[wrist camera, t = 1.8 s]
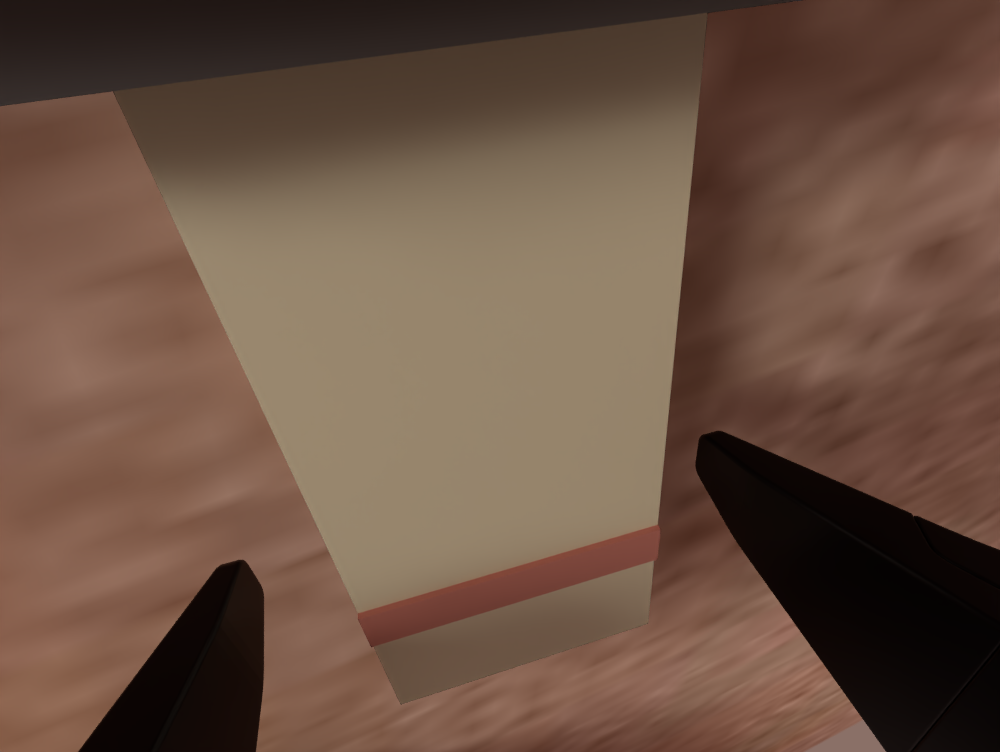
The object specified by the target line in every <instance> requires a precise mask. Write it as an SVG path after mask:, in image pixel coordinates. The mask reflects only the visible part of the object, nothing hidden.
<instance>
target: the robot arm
mask: <svg viewBox="0 0 1000 752" xmlns="http://www.w3.org/2000/svg"><path fill="white" fill-rule="evenodd" d="M696 471H697V474H698V476H699V478H700V479H701V481H702V483H703V485H704V487H705V488H706V490H707V492H708V494H709V495H710V497H711V499H712V501H713V502H714V504H715V506H716V508H717V509H718V511H719V513H720V515H721V517H722V518H723V520H724V522H725V524H726V525H727V527H728V529H729V530H730V532H731V534H732V535H733V537H734V539H735V540H736V542H737V543H738V545H739V546H740V547H741V549H742V550H743V552H744V553H745V555H746V556H747V557H748V559H749V560H750V562H751V563H752V564H753V566H754V567H755V569H756V570H757V571H758V573H759V574H760V576H761V577H762V578H763V580H764V581H765V583H766V584H767V585H768V587H769V588H770V590H771V591H772V592H773V594H774V595H775V597H776V598H777V599H778V601H779V602H780V604H781V605H782V606H783V608H784V609H785V611H786V612H787V613H788V615H789V616H790V618H791V619H792V620H793V622H794V623H795V625H796V626H797V627H798V629H799V630H800V632H801V633H802V634H803V636H804V637H805V639H806V640H807V641H808V643H809V644H810V646H811V647H812V648H813V650H814V651H815V653H816V654H817V655H818V657H819V658H820V660H821V661H822V662H823V664H824V665H825V667H826V668H827V669H828V671H829V672H830V674H831V675H832V676H833V678H834V679H835V681H836V682H837V683H838V685H839V686H840V688H841V689H842V690H843V692H844V693H845V695H846V696H847V697H848V699H849V700H850V702H851V703H852V704H853V706H854V707H855V709H856V710H857V711H858V713H859V714H860V716H861V717H862V719H863V720H864V721H865V723H866V724H867V726H868V727H869V728H870V730H871V731H872V732H873V734H874V735H875V737H876V738H877V740H878V741H879V742H880V744H881V745H882V746H883V748H884V749H885V751H886V752H1000V550H999V549H996V548H993V547H991V546H988V545H986V544H983V543H980V542H978V541H975V540H973V539H971V538H968V537H966V536H963V535H961V534H959V533H956V532H954V531H951V530H949V529H947V528H944V527H942V526H939V525H937V524H935V523H933V522H930V521H928V520H926V519H923V518H921V517H919V516H914V517H913V515H912V514H911V513H909V512H907V511H905V510H902V509H900V508H898V507H895V506H893V505H891V504H889V503H886V502H884V501H882V500H879V499H877V498H875V497H872V496H870V495H868V494H866V493H863V492H861V491H859V490H856V489H854V488H852V487H849V486H847V485H845V484H843V483H840V482H838V481H836V480H833V479H831V478H829V477H826V476H824V475H822V474H820V473H817V472H815V471H813V470H810V469H808V468H806V467H803V466H801V465H799V464H797V463H794V462H792V461H790V460H787V459H785V458H783V457H780V456H778V455H776V454H774V453H771V452H769V451H767V450H764V449H762V448H760V447H757V446H755V445H753V444H751V443H748V442H746V441H744V440H741V439H739V438H737V437H734V436H732V435H730V434H728V433H725V432H723V431H715V432H711V433H707V434H704V435H702V436H701V437H700V438H699V443H698V449H697V456H696ZM263 680H264V593H263V589H262V586H261V584H260V583H259V581H258V579H257V578H256V576H255V575H254V573H253V571H252V570H251V568H250V567H249V565H248V564H247V562H246V561H244V560H237V561H233V562H229V563H226V564H222V565H220V566H219V567H217V568H216V569H215V571H214V572H213V573H212V575H211V576H210V577H209V579H208V580H207V581H206V583H205V584H204V585H203V587H202V588H201V589H200V591H199V592H198V593H197V595H196V596H195V597H194V599H193V600H192V601H191V603H190V604H189V605H188V606H187V608H186V609H185V610H184V612H183V613H182V614H181V616H180V617H179V618H178V620H177V621H176V622H175V624H174V625H173V626H172V628H171V629H170V630H169V632H168V633H167V634H166V636H165V637H164V638H163V640H162V641H161V642H160V644H159V645H158V646H157V648H156V649H155V650H154V652H153V653H152V654H151V656H150V657H149V658H148V660H147V661H146V662H145V664H144V665H143V666H142V668H141V669H140V670H139V672H138V673H137V674H136V676H135V677H134V678H133V680H132V681H131V682H130V684H129V685H128V686H127V688H126V689H125V690H124V691H123V693H122V694H121V695H120V697H119V698H118V699H117V701H116V702H115V703H114V705H113V706H112V707H111V709H110V710H109V711H108V713H107V714H106V715H105V717H104V718H103V719H102V721H101V722H100V723H99V725H98V726H97V727H96V729H95V730H94V731H93V733H92V734H91V735H90V737H89V738H88V739H87V741H86V742H85V743H84V745H83V746H82V747H81V749H80V750H79V751H78V752H256V746H257V737H258V729H259V720H260V712H261V703H262V693H263Z"/></svg>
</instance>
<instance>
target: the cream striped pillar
mask: <svg viewBox="0 0 1000 752" xmlns="http://www.w3.org/2000/svg"><path fill="white" fill-rule="evenodd" d="M707 15H708V13H702V14H695V15H687V16H680V17H672V18H665V19H657V20H649V21H642V22H634V23H627V24H619V25H611V26H604V27H596V28H589V29H581V30H573V31H566V32H558V33H551V34H543V35H536V36H528V37H520V38H513V39H505V40H498V41H490V42H482V43H475V44H467V45H460V46H452V47H445V48H437V49H429V50H422V51H414V52H407V53H399V54H391V55H384V56H376V57H369V58H361V59H353V60H346V61H338V62H331V63H323V64H316V65H308V66H300V67H293V68H285V69H278V70H270V71H262V72H255V73H247V74H240V75H232V76H225V77H217V78H209V79H202V80H194V81H187V82H179V83H171V84H164V85H156V86H149V87H141V88H133V89H126V90H118V91H113V93H114V95H115V97H116V99H117V101H118V103H119V105H120V107H121V110H122V112H123V114H124V116H125V118H126V120H127V122H128V124H129V127H130V129H131V131H132V133H133V135H134V137H135V139H136V142H137V144H138V146H139V148H140V150H141V152H142V154H143V156H144V159H145V161H146V163H147V165H148V167H149V169H150V171H151V174H152V176H153V178H154V180H155V182H156V184H157V186H158V188H159V191H160V193H161V195H162V197H163V199H164V201H165V203H166V205H167V208H168V210H169V212H170V214H171V216H172V218H173V220H174V223H175V225H176V227H177V229H178V231H179V233H180V235H181V237H182V240H183V242H184V244H185V246H186V248H187V250H188V252H189V254H190V257H191V259H192V261H193V263H194V265H195V267H196V269H197V272H198V274H199V276H200V278H201V280H202V282H203V284H204V286H205V289H206V291H207V293H208V295H209V297H210V299H211V301H212V304H213V306H214V308H215V310H216V312H217V314H218V316H219V318H220V321H221V323H222V325H223V327H224V329H225V331H226V333H227V335H228V338H229V340H230V342H231V344H232V346H233V348H234V350H235V353H236V355H237V357H238V359H239V361H240V363H241V365H242V367H243V370H244V372H245V374H246V376H247V378H248V380H249V382H250V384H251V387H252V389H253V391H254V393H255V395H256V397H257V399H258V402H259V404H260V406H261V408H262V410H263V412H264V414H265V416H266V419H267V421H268V423H269V425H270V427H271V429H272V431H273V433H274V436H275V438H276V440H277V442H278V444H279V446H280V448H281V451H282V453H283V455H284V457H285V459H286V461H287V463H288V465H289V468H290V470H291V472H292V474H293V476H294V478H295V480H296V483H297V485H298V487H299V489H300V491H301V493H302V495H303V497H304V500H305V502H306V504H307V506H308V508H309V510H310V512H311V514H312V517H313V519H314V521H315V523H316V525H317V527H318V529H319V532H320V534H321V536H322V538H323V540H324V542H325V544H326V546H327V549H328V551H329V553H330V555H331V557H332V559H333V561H334V563H335V566H336V568H337V570H338V572H339V574H340V576H341V578H342V581H343V583H344V585H345V587H346V589H347V591H348V593H349V595H350V598H351V600H352V602H353V604H354V606H355V608H356V610H357V613H358V620H359V622H360V625H361V627H362V629H363V631H364V633H365V635H366V637H367V639H368V641H369V644H370V646H371V647H374V649H375V651H376V653H377V655H378V657H379V659H380V662H381V664H382V666H383V668H384V670H385V672H386V674H387V676H388V679H389V681H390V683H391V685H392V687H393V689H394V691H395V693H396V696H397V698H398V700H399V702H400V704H404V703H407V702H410V701H413V700H417V699H420V698H423V697H426V696H429V695H432V694H435V693H438V692H441V691H444V690H447V689H450V688H453V687H456V686H459V685H462V684H465V683H469V682H472V681H475V680H478V679H481V678H484V677H487V676H490V675H493V674H496V673H499V672H502V671H505V670H508V669H511V668H514V667H517V666H520V665H524V664H527V663H530V662H533V661H536V660H539V659H542V658H545V657H548V656H551V655H554V654H557V653H560V652H563V651H566V650H569V649H572V648H575V647H579V646H582V645H585V644H588V643H591V642H594V641H597V640H600V639H603V638H606V637H609V636H612V635H615V634H618V633H621V632H624V631H627V630H631V629H634V628H637V627H640V626H643V625H646V624H648V619H649V608H650V598H651V588H652V578H653V568H654V560H657V559H658V551H659V541H660V532H661V529H660V527H659V526H658V516H659V506H660V496H661V486H662V475H663V465H664V455H665V445H666V435H667V424H668V414H669V404H670V394H671V383H672V373H673V363H674V353H675V342H676V332H677V322H678V312H679V302H680V291H681V281H682V271H683V261H684V250H685V240H686V230H687V220H688V209H689V199H690V189H691V179H692V169H693V158H694V148H695V138H696V128H697V117H698V107H699V97H700V87H701V76H702V66H703V56H704V46H705V36H706V25H707Z"/></svg>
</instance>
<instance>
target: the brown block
mask: <svg viewBox="0 0 1000 752" xmlns="http://www.w3.org/2000/svg"><path fill="white" fill-rule="evenodd" d="M793 1H801V0H0V106H5V105H12V104H20V103H27V102H35V101H42V100H50V99H58V98H65V97H73V96H80V95H88V94H96V93H103V92H111V91H118V90H126V89H133V88H141V87H149V86H156V85H164V84H171V83H179V82H187V81H194V80H202V79H209V78H217V77H225V76H232V75H240V74H247V73H255V72H262V71H270V70H278V69H285V68H293V67H300V66H308V65H316V64H323V63H331V62H338V61H346V60H353V59H361V58H369V57H376V56H384V55H391V54H399V53H407V52H414V51H422V50H429V49H437V48H445V47H452V46H460V45H467V44H475V43H482V42H490V41H498V40H505V39H513V38H520V37H528V36H536V35H543V34H551V33H558V32H566V31H573V30H581V29H589V28H596V27H604V26H611V25H619V24H627V23H634V22H642V21H649V20H657V19H665V18H672V17H680V16H687V15H695V14H702V13H710V12H718V11H725V10H733V9H740V8H748V7H756V6H763V5H771V4H778V3H786V2H793Z"/></svg>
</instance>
